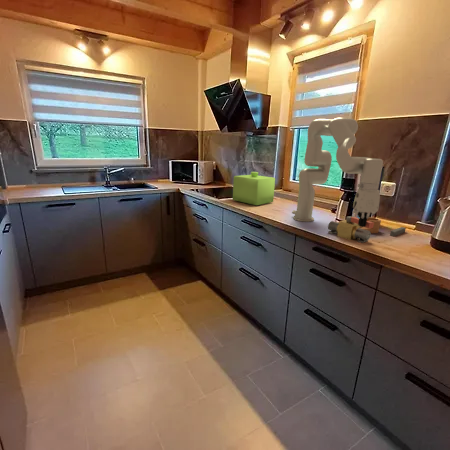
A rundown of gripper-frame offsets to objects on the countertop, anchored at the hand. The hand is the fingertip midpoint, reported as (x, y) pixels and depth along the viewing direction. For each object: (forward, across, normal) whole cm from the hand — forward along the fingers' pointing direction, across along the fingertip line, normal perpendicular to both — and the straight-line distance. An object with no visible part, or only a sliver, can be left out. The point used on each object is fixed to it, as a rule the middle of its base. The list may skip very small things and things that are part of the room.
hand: (361, 225), depth 128 cm
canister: (+9, -29, +100) cm, 105 cm away
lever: (+1, +1, +10) cm, 11 cm away
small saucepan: (+10, +15, +20) cm, 27 cm away
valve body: (+9, +1, +10) cm, 14 cm away
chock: (+9, +33, +15) cm, 37 cm away
